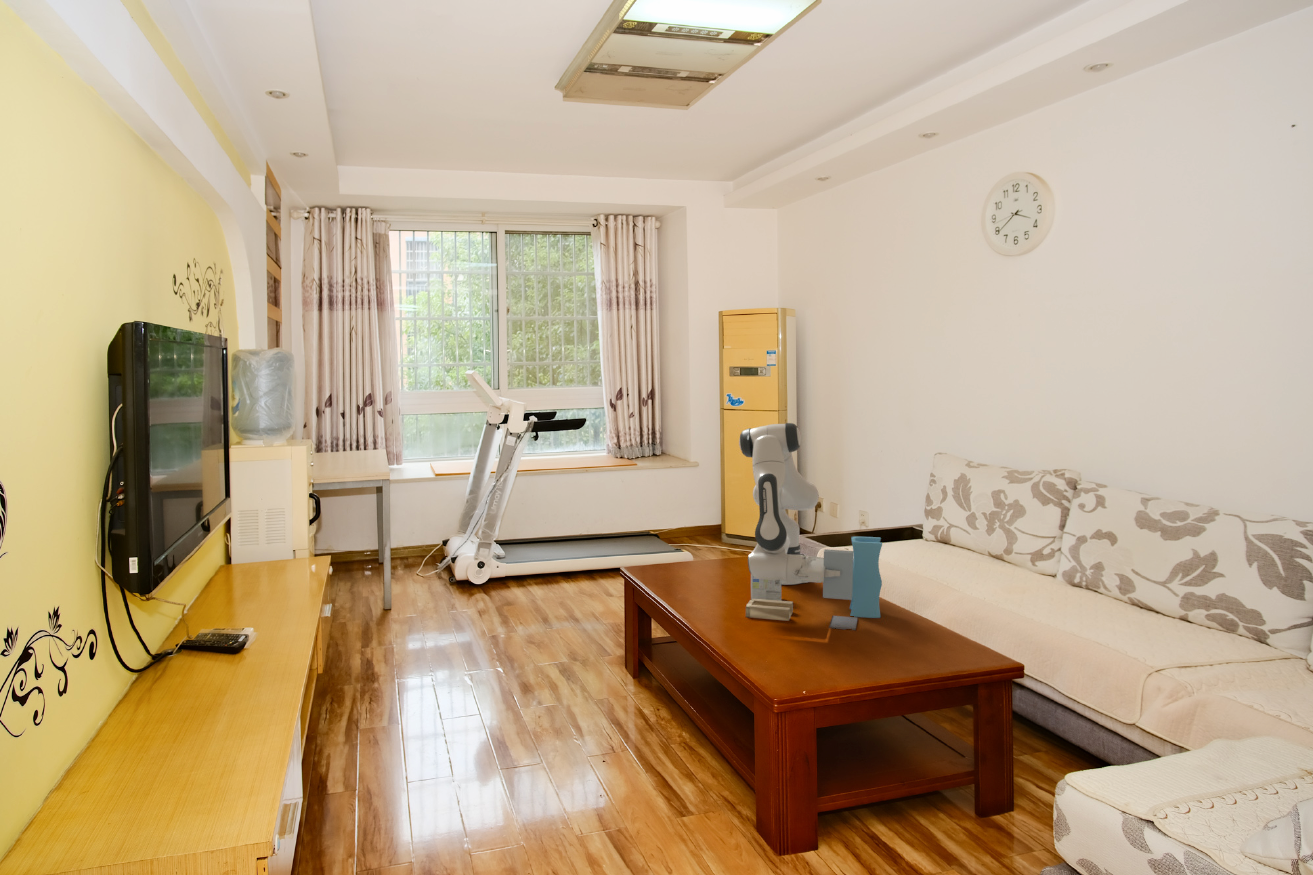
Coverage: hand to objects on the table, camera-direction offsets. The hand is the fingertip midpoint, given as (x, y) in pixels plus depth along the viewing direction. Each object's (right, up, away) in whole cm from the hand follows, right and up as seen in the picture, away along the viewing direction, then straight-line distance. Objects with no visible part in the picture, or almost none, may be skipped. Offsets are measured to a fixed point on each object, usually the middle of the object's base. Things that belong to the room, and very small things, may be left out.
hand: (841, 571), depth 270 cm
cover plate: (-1, -8, +1) cm, 9 cm away
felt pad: (-1, -17, +2) cm, 17 cm away
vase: (+11, -16, +13) cm, 23 cm away
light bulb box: (-21, -15, +26) cm, 37 cm away
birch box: (-22, -16, +8) cm, 28 cm away
